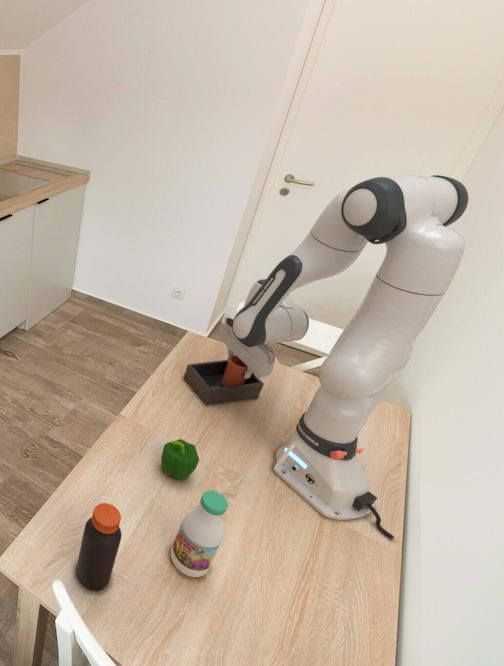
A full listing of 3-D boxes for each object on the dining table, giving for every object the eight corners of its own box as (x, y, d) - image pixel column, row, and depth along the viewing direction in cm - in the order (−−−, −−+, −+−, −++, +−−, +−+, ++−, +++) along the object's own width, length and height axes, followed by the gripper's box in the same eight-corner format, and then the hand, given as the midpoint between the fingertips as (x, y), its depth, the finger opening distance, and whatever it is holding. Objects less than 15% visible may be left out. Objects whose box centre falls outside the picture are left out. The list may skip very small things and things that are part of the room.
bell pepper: (197, 470, 119) (208, 442, 113) (185, 490, 113) (195, 462, 108) (166, 453, 123) (174, 425, 117) (152, 472, 118) (161, 444, 112)
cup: (246, 389, 144) (256, 366, 139) (228, 392, 143) (238, 368, 138) (234, 376, 149) (243, 354, 144) (217, 379, 148) (225, 356, 143)
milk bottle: (178, 536, 103) (202, 476, 92) (213, 558, 99) (243, 497, 88) (163, 562, 98) (187, 501, 87) (200, 586, 94) (229, 526, 83)
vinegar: (69, 566, 97) (80, 505, 86) (97, 554, 99) (112, 493, 88) (87, 597, 92) (101, 537, 81) (116, 584, 94) (134, 523, 83)
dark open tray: (258, 397, 142) (264, 383, 139) (205, 405, 139) (210, 390, 136) (232, 372, 152) (238, 358, 149) (183, 378, 149) (187, 364, 146)
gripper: (287, 351, 127) (269, 390, 135) (240, 311, 144) (227, 348, 151) (266, 353, 126) (250, 392, 134) (222, 313, 142) (209, 350, 150)
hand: (237, 369), depth 143 cm, fingers closed on cup, 6 cm apart
